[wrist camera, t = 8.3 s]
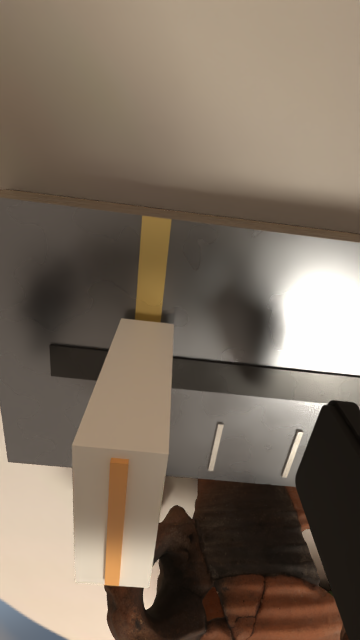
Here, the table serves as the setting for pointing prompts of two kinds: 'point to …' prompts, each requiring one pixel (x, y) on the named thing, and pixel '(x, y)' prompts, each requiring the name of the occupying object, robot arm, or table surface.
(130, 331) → the fader tab
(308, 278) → the console
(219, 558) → the pottery mug
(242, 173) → the table surface
